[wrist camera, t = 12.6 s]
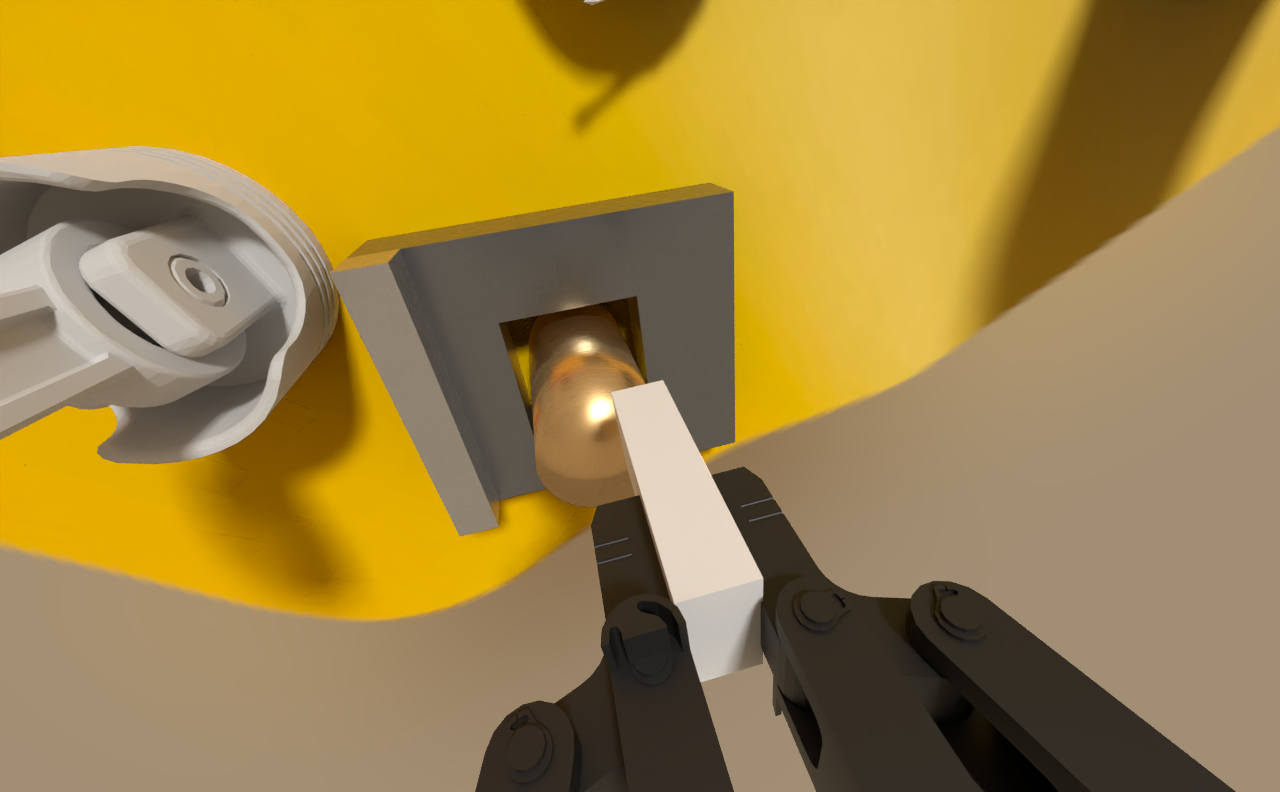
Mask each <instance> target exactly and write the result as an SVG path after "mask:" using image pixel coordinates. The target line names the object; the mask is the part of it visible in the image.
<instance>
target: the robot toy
mask: <svg viewBox="0 0 1280 792" xmlns="http://www.w3.org/2000/svg"><path fill="white" fill-rule="evenodd" d="M602 1H604V0H585V1H584V2H585V3H587V4H590V5H594V4H597V3H600V2H602Z"/></svg>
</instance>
